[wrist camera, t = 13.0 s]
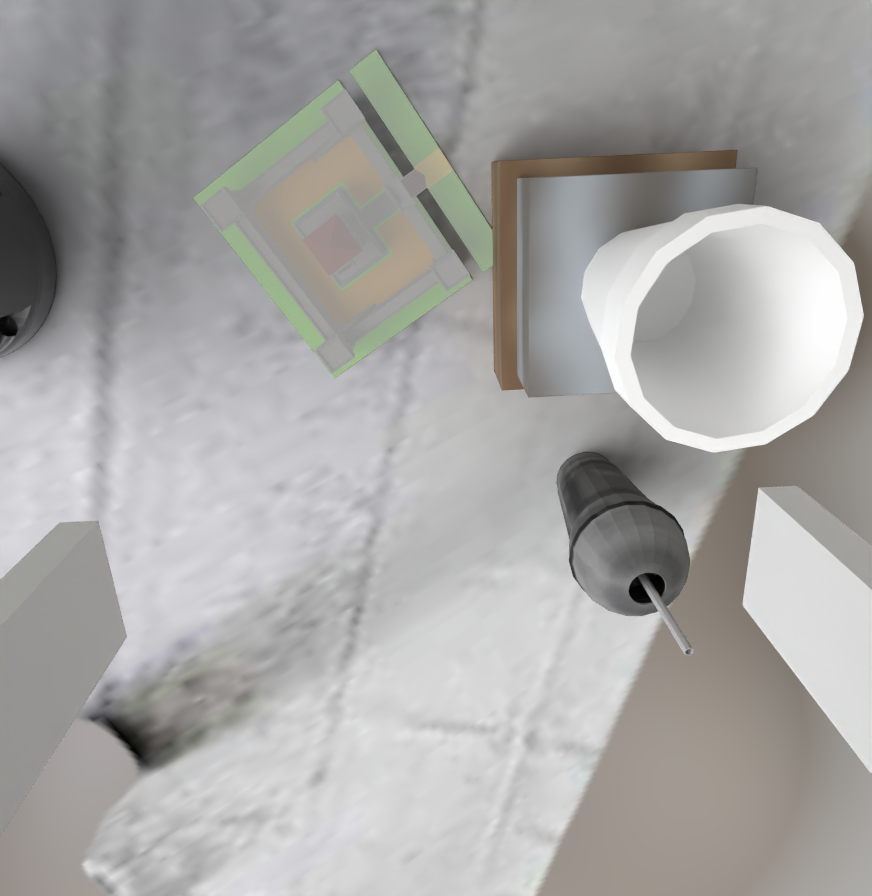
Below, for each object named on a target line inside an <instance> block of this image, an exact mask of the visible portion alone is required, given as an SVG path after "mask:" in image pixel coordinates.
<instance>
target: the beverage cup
mask: <svg viewBox="0 0 872 896" xmlns="http://www.w3.org/2000/svg"><path fill="white" fill-rule="evenodd" d="M557 486H558V494H559V499H560V503H561V507H562V511H563V515H564V519H565V523H566V527H567V531H568V535H569V539H570V542H569V553H570V557H569V563H570V566H571V570H572V574H573V577H574V578H575V580H576V581H577V582H578V584H579V585H580V586H581V588H582V589H583V590H584V591H585V592H586V593H587V594H588V596H589V597H590V598H591V599H592V600H593V601H595V602H596V603H598V604H599V605H601V606H602V607H604V608H605V609H607V610H608V611H611V612H615V613H618V614H622V615H625V616H643V615H647V614H651V613H655V612H657V611H659V613H660V615H661V616H662V618H663V620H664V621H665V623H666V624H667V626H668V628H669V629H670V631H671V632H672V634H673V636H674V637H675V639H676V641H677V642H678V644H679V646H680V647H681V649H682V651H683V652H684V654H685V655H691V654H692V653H693V652H694V651H693V648H692V647H691V645H690V643H689V642H688V640H687V639H686V637H685V636H684V634H683V633H682V631H681V629H680V628H679V626H678V624H677V623H676V621H675V619H674V618H673V616H672V615H671V613H670V612H669V610H668V608H667V607H666V606H668V605H669V604H670V603H671V602H672V601H673V600H674V599H675V598H676V597H677V596H678V595H679V594H680V592H681V590H682V588H683V586H684V585H685V583H686V580H687V577H688V572H689V566H690V557H689V552H688V547H687V543H686V539H685V537H684V533H683V529H682V528H681V526H680V525H679V523H678V521H677V520H676V518H675V517H674V516H673V515H672V514H670V513H669V512H668V511H666V510H665V509H664V508H662V507H661V506H658V505H656V504H655V503H653V502H652V501H650V500H649V499H648V498H647V497H646V496H645V495H644V494H643V493H642V492H641V491H640V490H639V489H638V488H637V487H636V486H635V485H634V484H633V483H632V482H631V481H630V480H629V479H628V478H627V477H626V476H625V475H624V474H623V473H622V472H621V471H620V470H619V469H618V468H617V467H616V466H614V465H613V464H612V463H610V462H609V461H608V460H607V459H606V458H605V457H603V456H602V455H599V454H596V453H593V452H583V453H580V454H576V455H574V456H572V457H571V458H569V459H567V460H566V461H565V463H564V464H563V465H562V466H561V468H560V470H559V472H558V474H557Z"/></svg>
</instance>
